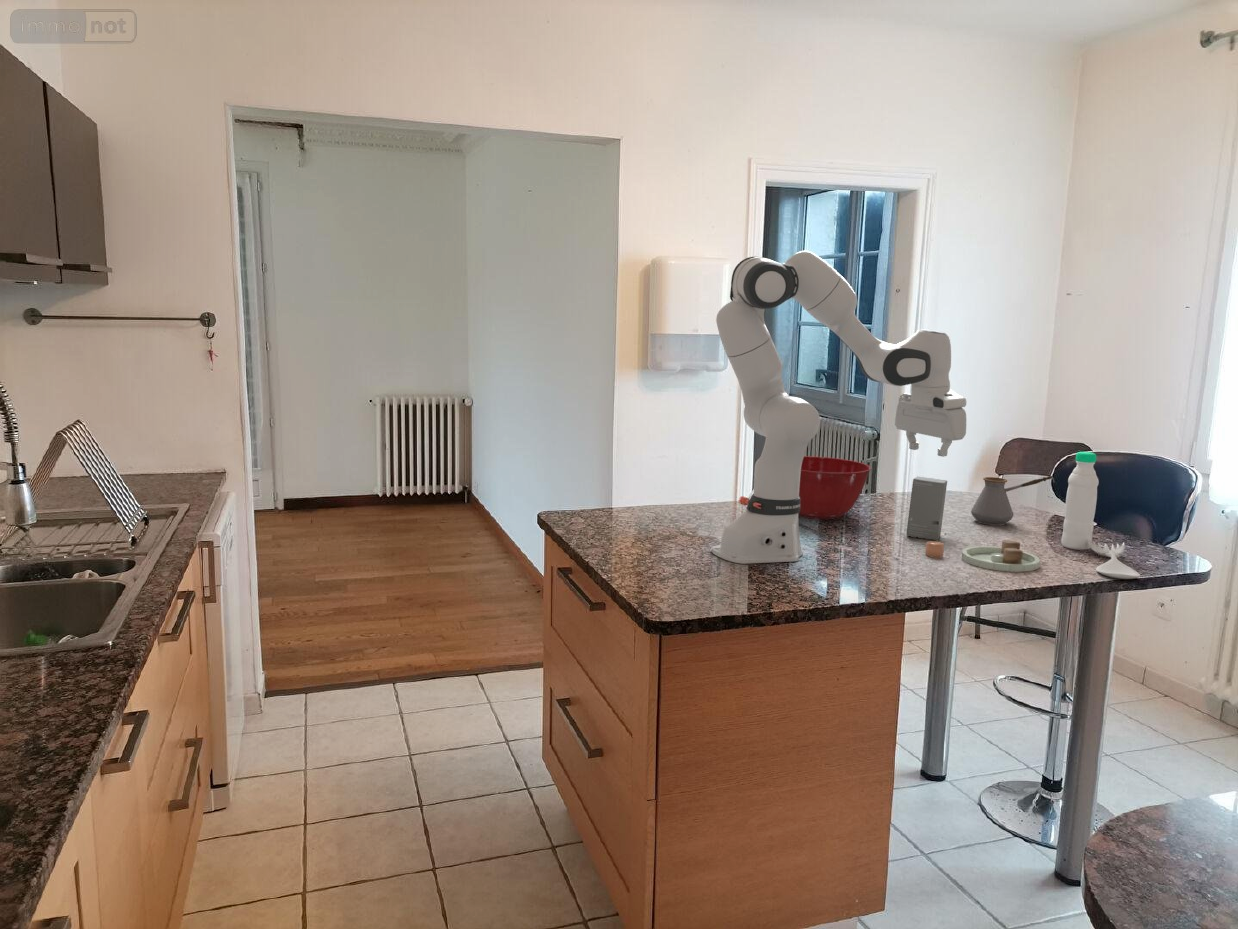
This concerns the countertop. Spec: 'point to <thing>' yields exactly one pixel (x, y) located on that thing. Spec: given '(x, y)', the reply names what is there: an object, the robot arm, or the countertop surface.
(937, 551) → the loose bead
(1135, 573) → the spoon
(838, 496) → the mixing bowl
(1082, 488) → the milk bottle
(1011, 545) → the seated bead
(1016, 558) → the seated bead
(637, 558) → the countertop surface
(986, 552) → the groove tray
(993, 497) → the coffee pot
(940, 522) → the skincare box
